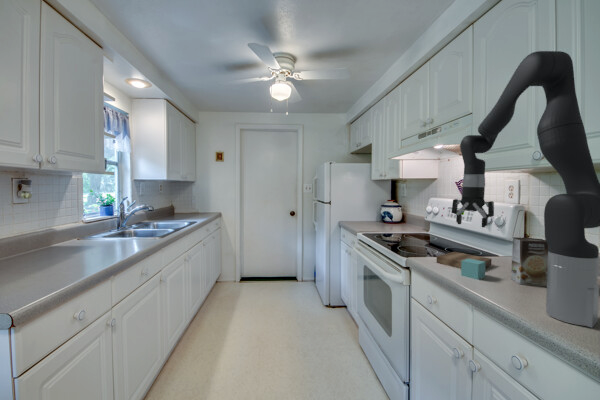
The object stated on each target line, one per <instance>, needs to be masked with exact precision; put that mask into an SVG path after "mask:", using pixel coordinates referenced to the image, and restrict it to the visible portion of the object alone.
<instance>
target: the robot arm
mask: <svg viewBox="0 0 600 400" xmlns="http://www.w3.org/2000/svg"><path fill="white" fill-rule="evenodd" d="M575 83H576V82H575V71H574V64H573V60H572V57H571V56H570V54H569V53H567V52H565V51H561V50H559V51H557V50H539V51H534V52H531V53H529V54H528V55H526V56H525V57H524V58H523V60H521V61H520V63H519V64H518V65H517V68H516V69H515V70H514V72H513V74H512V76H511V77H510V79H509V80H508V83H507V84H506V85H505V88H504V89H503V91H502V93H501V95H500V96H499V98H498V100H497V101H496V103H495V105H494V106H493V107H492V109H491V110H490V111H489V113H488V114H487V115H486V116H485V118H483V120H482V121H481V123H480V124H479V126H478V127H477V131H478V133H479V134H477V135H476V134H475V135H474V134H470V135H469V134H468V135H465V136H464V137H463V138H462V139H461V141H460V145H459V146H460V147H459V148H460V152H461V153H460V154H461V156H462V161H463V166H464V167H463V178H462V185H461V186H462V187H461V199H458V198H455V199H453V200H452V206H451V213H452V214H454V215H455V216H456V217H455V218H456V221H455V222H456V223H457V225H462V219H463V218H462V217H463V215H462V214H463V213H465V212H466V211H468V212H469V211H472V212H478V213H479V214H480V215H481V217H482V218H481V228H486V227H487V226H488V219H489V218H492V217H494V216H495V204H494V203H495V202H494V200H492V201H485V188H486V177H485V176H486V175H485V174H486V161H485V160H483V159H482V158H481V159H480V158H478V157H477V156H476V154H484V153H487V152H488V151H490V150H491V149H492V148H493V146H494V144H495V142H496V140H497V138H498V135H499V134H500V133H501V132H502V131H503V130H504V128H506V126H507V125H509V123H510V122H511V121H512V119H513V116H514V114H515V110H516V104H517V101H518V99H519V98H520V96H521V95H523V93H524V92H525V91H526V90H527V89H528V88H530V87H542V89H543V91H544V94H545V102H546V103H545V104H546V106H545V109H544V111H543V114H542V115H541V117H540V119H539V122H538V124H537V128H536V134H537V140H538V144H539V149H540V152H541V154H542V156H543V157H544V158H545V160H547V162H548V163H549V164H550V165H551V166H552V168H553V169H554V170H555V171H556V172H557V173H558V175H559V176H560V178H561V180H562V181H563V185H564V188H565V192H566V193H558V194H555V195H553V196H552V197H550V198H549V199H548V201H547V202H546V203H545V206H544V211H543V213H544V214H543V222H544V240H546V242H547V244H548V271H547V287H546V298H545V299H546V303H545V312H546V314H547V315H549V316H550V317H552V318H553V319H556V320H559V321H561V322H565V323H568V324H572V325H576V326H583V327H588V328H592V329H593V328H594V326H596V324H597V323H598V321H599V319H598V318H599V317H598V316H599V300H600V299H599V295H600V286H599V285H598V278H599V277H598V275H599V274H598V273H599V254H600V253H599V252H600V249H599V247H598V246H597V245H596V244H595V243H592V242H589V241H588V240H587V238H586V232H585V229H594V228H600V181H599V178H598V176H597V173H596V171H595V169H596V168H595V166H594V162H593V158H592V155H591V152H590V147H589V144H588V143H589V142H588V139H587V134H586V130H585V127H584V122H583V119H582V116H581V112H580V111H581V110H580V107H579V101H578V98H577V93H576V92H577V91H576V84H575ZM459 205H462V206H461V207H460V209H458V206H459ZM484 206H486V207H487V208H488V209H487V211H488V213H487V212H486V210H485V209H484Z"/></svg>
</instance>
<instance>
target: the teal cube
mask: <svg viewBox="0 0 600 400" xmlns="http://www.w3.org/2000/svg"><path fill="white" fill-rule="evenodd" d="M460 270H461V271H460V275H461V276H462V277H465V278H470V279H473V280H481V279H483V278H485V277H486V268H485V262H484V261H479V260H474V259H469V258H468V259H465V260H462V261H461V268H460Z"/></svg>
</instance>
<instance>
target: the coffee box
mask: <svg viewBox="0 0 600 400" xmlns="http://www.w3.org/2000/svg"><path fill="white" fill-rule="evenodd" d="M511 250H512V251H511V253H512V254H511V268H510V269H511V270H510V273H511V274H510V279H511V280H513V282H515V283H517V284H519V285H526V286H535V287H546V288H547V271H548V244H547V242H546V240H545V239H542V238H533V237H516V236H515V237H512V249H511Z"/></svg>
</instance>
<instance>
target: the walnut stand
mask: <svg viewBox="0 0 600 400" xmlns="http://www.w3.org/2000/svg"><path fill="white" fill-rule="evenodd" d="M468 258H469V259H474V260H479V261H484V262H485V269H486V268H488V267H490V266H492V258H489V257H484V256H480V255H479V256H478V255H474V254H469V253H464V252H459V251H452V252H447V253H445V254H440V255H436V264H440V265H445V266H449V267H454V268H458V269H461V261H462V260H465V259H468Z"/></svg>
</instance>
